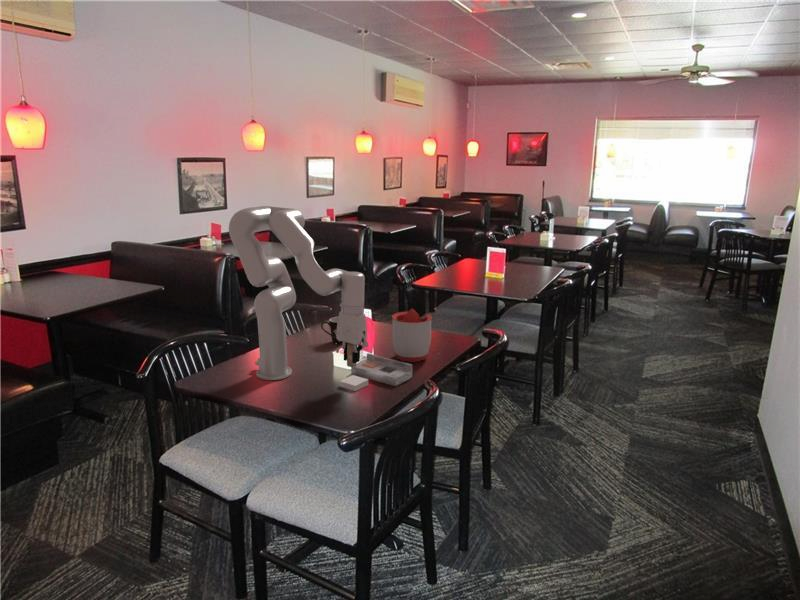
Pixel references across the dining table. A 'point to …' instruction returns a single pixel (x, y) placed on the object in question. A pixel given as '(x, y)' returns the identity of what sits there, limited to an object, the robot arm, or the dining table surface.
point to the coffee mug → (332, 329)
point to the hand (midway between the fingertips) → (351, 360)
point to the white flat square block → (354, 383)
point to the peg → (350, 355)
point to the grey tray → (383, 370)
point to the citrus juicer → (411, 335)
